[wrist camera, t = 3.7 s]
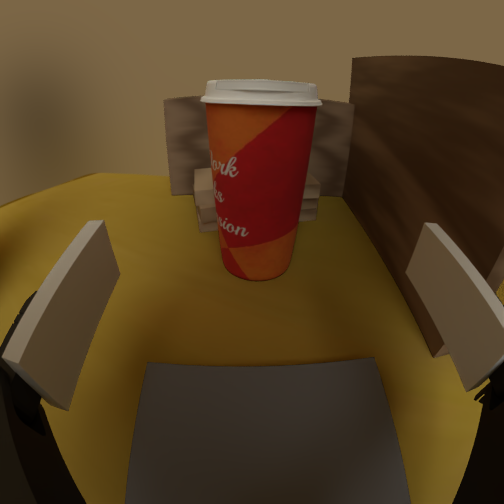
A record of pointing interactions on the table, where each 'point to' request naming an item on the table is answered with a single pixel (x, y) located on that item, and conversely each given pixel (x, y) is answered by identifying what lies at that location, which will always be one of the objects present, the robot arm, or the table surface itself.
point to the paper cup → (259, 169)
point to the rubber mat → (265, 436)
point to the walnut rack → (397, 160)
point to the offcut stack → (206, 199)
